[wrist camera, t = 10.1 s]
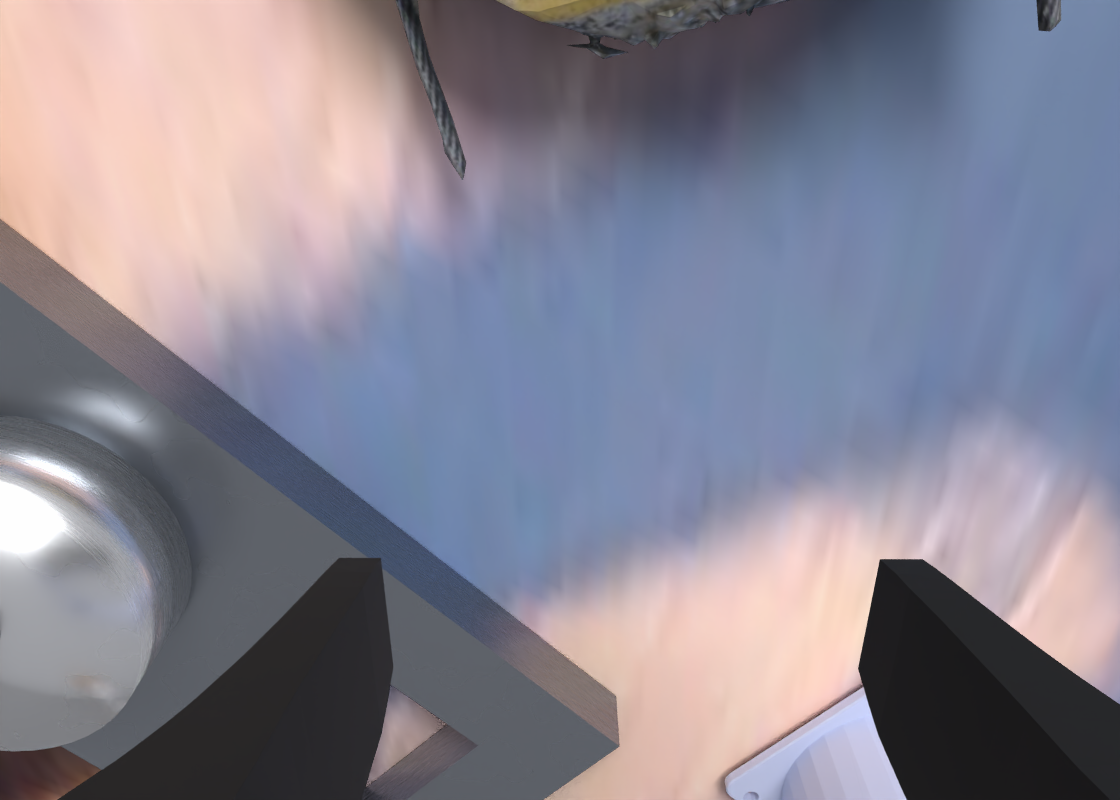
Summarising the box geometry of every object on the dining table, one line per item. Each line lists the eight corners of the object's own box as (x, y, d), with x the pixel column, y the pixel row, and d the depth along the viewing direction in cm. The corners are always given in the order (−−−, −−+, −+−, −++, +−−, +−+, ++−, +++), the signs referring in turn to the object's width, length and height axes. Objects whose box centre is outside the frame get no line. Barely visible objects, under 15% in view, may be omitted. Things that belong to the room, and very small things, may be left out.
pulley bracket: (615, 696, 27) (628, 872, 21) (378, 868, 30) (336, 1056, 25) (-9, 212, 20) (-222, 288, 15) (-214, 508, 24) (-446, 656, 18)
